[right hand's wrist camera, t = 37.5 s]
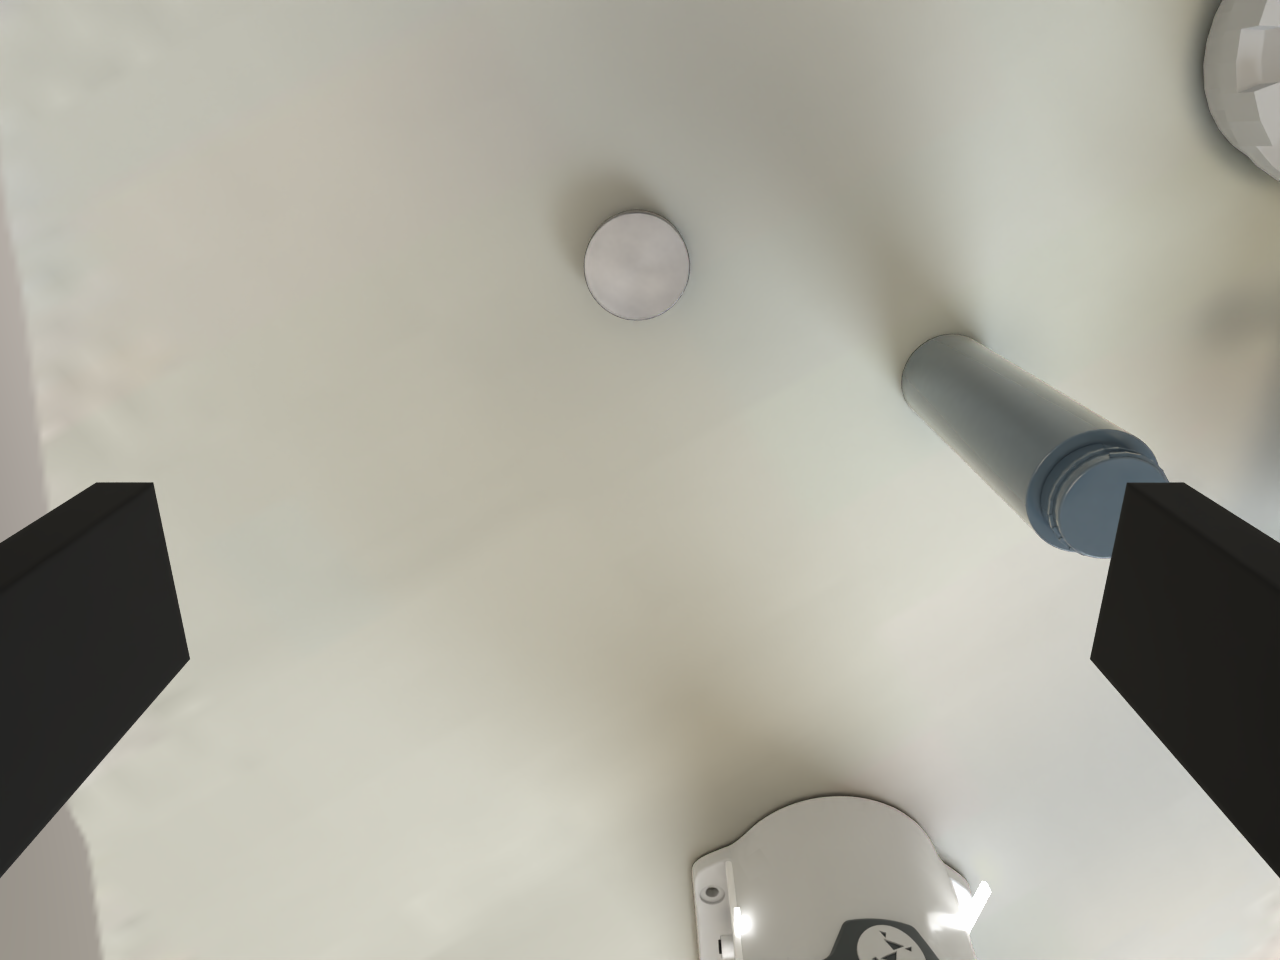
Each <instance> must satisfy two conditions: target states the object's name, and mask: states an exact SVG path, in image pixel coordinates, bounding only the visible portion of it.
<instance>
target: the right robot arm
mask: <svg viewBox="0 0 1280 960" xmlns="http://www.w3.org/2000/svg"><path fill="white" fill-rule="evenodd" d="M189 660H190V657H189V652H188V647H187V643H186V638H185V633H184V628H183V623H182V619H181V614H180V609H179V604H178V599H177V595H176V590H175V585H174V580H173V575H172V571H171V566H170V561H169V556H168V551H167V546H166V542H165V537H164V532H163V527H162V522H161V518H160V513H159V508H158V503H157V498H156V494H155V489H154V484H153V483H95V484H93V485H92V486H90V487H89V488H87V489H85V490H84V491H82V492H81V493H79V494H77V495H76V496H74V497H73V498H71V499H69V500H68V501H66V502H65V503H63V504H62V505H60V506H58V507H57V508H55V509H54V510H52V511H50V512H49V513H47V514H46V515H44V516H43V517H41V518H39V519H38V520H36V521H35V522H33V523H31V524H30V525H28V526H27V527H25V528H24V529H22V530H20V531H19V532H17V533H16V534H14V535H12V536H11V537H9V538H8V539H6V540H5V541H3V542H1V543H0V878H1V876H2V875H3V874H4V873H5V872H6V871H7V870H8V868H9V867H10V866H11V865H12V864H13V863H14V861H15V860H16V859H17V858H18V857H19V856H20V855H21V853H22V852H23V851H24V850H25V849H26V848H27V846H28V845H29V844H30V843H31V842H32V841H33V840H34V838H35V837H36V836H37V835H38V834H39V833H40V831H41V830H42V829H43V828H44V827H45V826H46V824H47V823H48V822H49V821H50V820H51V819H52V818H53V816H54V815H55V814H56V813H57V812H58V811H59V810H60V808H61V807H62V806H63V805H64V804H65V803H66V801H67V800H68V799H69V798H70V797H71V796H72V795H73V793H74V792H75V791H76V790H77V789H78V788H79V786H80V785H81V784H82V783H83V782H84V781H85V780H86V778H87V777H88V776H89V775H90V774H91V773H92V771H93V770H94V769H95V768H96V767H97V766H98V765H99V763H100V762H101V761H102V760H103V759H104V758H105V756H106V755H107V754H108V753H109V752H110V751H111V750H112V748H113V747H114V746H115V745H116V744H117V743H118V741H119V740H120V739H121V738H122V737H123V736H124V735H125V733H126V732H127V731H128V730H129V729H130V728H131V726H132V725H133V724H134V723H135V722H136V721H137V720H138V718H139V717H140V716H141V715H142V714H143V713H144V711H145V710H146V709H147V708H148V707H149V706H150V705H151V703H152V702H153V701H154V700H155V699H156V698H157V696H158V695H159V694H160V693H161V692H162V691H163V690H164V688H165V687H166V686H167V685H168V684H169V683H170V681H171V680H172V679H173V678H174V677H175V676H176V675H177V673H178V672H179V671H180V670H181V669H182V668H183V666H184V665H185V664H186V663H187V662H188V661H189ZM1090 660H1091V661H1092V662H1093V663H1094V664H1095V665H1096V666H1097V668H1098V669H1099V670H1100V671H1101V672H1102V673H1103V675H1104V676H1105V677H1106V678H1107V679H1108V680H1109V681H1110V683H1111V684H1112V685H1113V686H1114V687H1115V688H1116V690H1117V691H1118V692H1119V693H1120V694H1121V695H1122V696H1123V698H1124V699H1125V700H1126V701H1127V702H1128V703H1129V705H1130V706H1131V707H1132V708H1133V709H1134V710H1135V711H1136V713H1137V714H1138V715H1139V716H1140V717H1141V718H1142V720H1143V721H1144V722H1145V723H1146V724H1147V725H1148V726H1149V728H1150V729H1151V730H1152V731H1153V732H1154V733H1155V735H1156V736H1157V737H1158V738H1159V739H1160V740H1161V741H1162V743H1163V744H1164V745H1165V746H1166V747H1167V748H1168V750H1169V751H1170V752H1171V753H1172V754H1173V755H1174V756H1175V758H1176V759H1177V760H1178V761H1179V762H1180V763H1181V765H1182V766H1183V767H1184V768H1185V769H1186V770H1187V771H1188V773H1189V774H1190V775H1191V776H1192V777H1193V778H1194V780H1195V781H1196V782H1197V783H1198V784H1199V785H1200V786H1201V788H1202V789H1203V790H1204V791H1205V792H1206V793H1207V795H1208V796H1209V797H1210V798H1211V799H1212V800H1213V801H1214V803H1215V804H1216V805H1217V806H1218V807H1219V808H1220V810H1221V811H1222V812H1223V813H1224V814H1225V815H1226V816H1227V818H1228V819H1229V820H1230V821H1231V822H1232V823H1233V825H1234V826H1235V827H1236V828H1237V829H1238V830H1239V831H1240V833H1241V834H1242V835H1243V836H1244V837H1245V838H1246V840H1247V841H1248V842H1249V843H1250V844H1251V845H1252V846H1253V848H1254V849H1255V850H1256V851H1257V852H1258V853H1259V855H1260V856H1261V857H1262V858H1263V859H1264V860H1265V861H1266V863H1267V864H1268V865H1269V866H1270V867H1271V868H1272V870H1273V871H1274V872H1275V873H1276V874H1277V875H1278V876H1279V878H1280V543H1279V542H1277V541H1276V540H1274V539H1272V538H1271V537H1269V536H1268V535H1266V534H1264V533H1263V532H1261V531H1260V530H1258V529H1256V528H1255V527H1253V526H1252V525H1250V524H1249V523H1247V522H1245V521H1244V520H1242V519H1241V518H1239V517H1237V516H1236V515H1234V514H1233V513H1231V512H1230V511H1228V510H1226V509H1225V508H1223V507H1222V506H1220V505H1218V504H1217V503H1215V502H1214V501H1212V500H1211V499H1209V498H1207V497H1206V496H1204V495H1203V494H1201V493H1199V492H1198V491H1196V490H1195V489H1193V488H1191V487H1190V486H1188V485H1187V484H1185V483H1127V484H1126V489H1125V494H1124V498H1123V503H1122V508H1121V513H1120V518H1119V522H1118V527H1117V532H1116V537H1115V542H1114V546H1113V551H1112V556H1111V561H1110V566H1109V570H1108V575H1107V580H1106V585H1105V590H1104V595H1103V599H1102V604H1101V609H1100V614H1099V619H1098V623H1097V628H1096V633H1095V638H1094V643H1093V647H1092V652H1091V657H1090Z"/></svg>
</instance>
